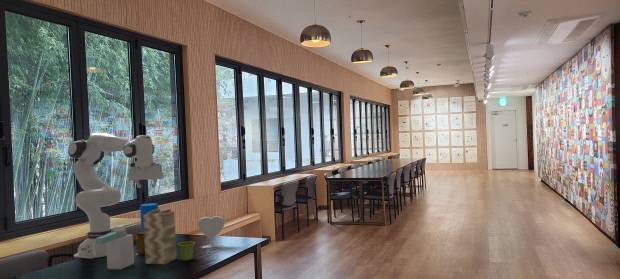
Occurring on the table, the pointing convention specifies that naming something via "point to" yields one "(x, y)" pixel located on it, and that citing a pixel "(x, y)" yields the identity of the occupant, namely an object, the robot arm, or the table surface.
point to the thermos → (145, 209)
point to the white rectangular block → (120, 252)
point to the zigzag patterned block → (159, 237)
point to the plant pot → (186, 250)
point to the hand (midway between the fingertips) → (146, 187)
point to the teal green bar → (112, 234)
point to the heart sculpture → (211, 228)
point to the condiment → (140, 243)
